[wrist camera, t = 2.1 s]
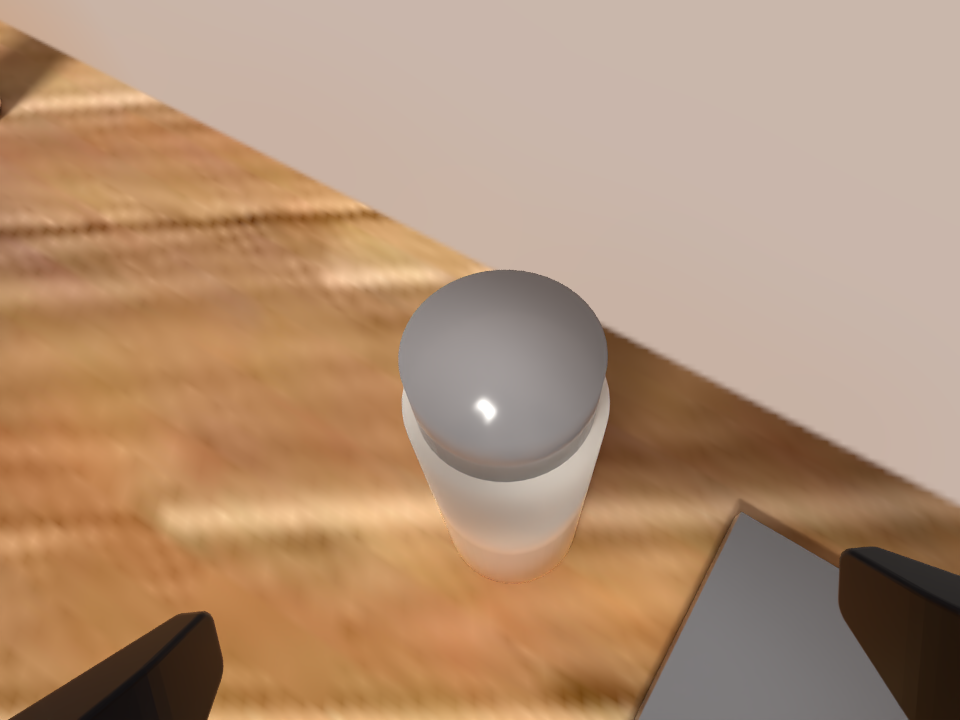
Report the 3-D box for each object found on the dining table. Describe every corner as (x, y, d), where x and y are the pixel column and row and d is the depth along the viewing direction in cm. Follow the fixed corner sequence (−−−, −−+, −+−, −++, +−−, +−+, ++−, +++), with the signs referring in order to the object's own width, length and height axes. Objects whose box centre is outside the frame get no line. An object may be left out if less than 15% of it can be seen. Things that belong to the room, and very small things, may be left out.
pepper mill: (596, 559, 21) (665, 416, 11) (467, 601, 20) (412, 493, 10) (549, 442, 23) (569, 238, 13) (435, 476, 23) (365, 292, 13)
